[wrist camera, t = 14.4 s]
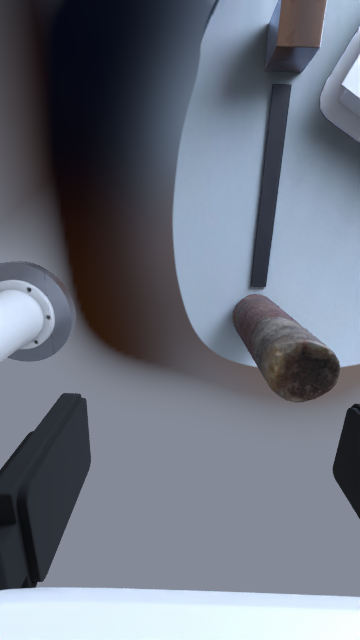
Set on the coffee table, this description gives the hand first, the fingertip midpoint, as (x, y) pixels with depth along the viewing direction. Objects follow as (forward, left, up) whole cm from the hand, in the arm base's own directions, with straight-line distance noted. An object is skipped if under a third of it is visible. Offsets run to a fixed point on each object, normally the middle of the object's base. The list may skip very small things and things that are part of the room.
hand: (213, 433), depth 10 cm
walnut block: (+11, +30, -36) cm, 48 cm away
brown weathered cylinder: (+11, -6, -36) cm, 39 cm away
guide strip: (+11, +13, -36) cm, 40 cm away
